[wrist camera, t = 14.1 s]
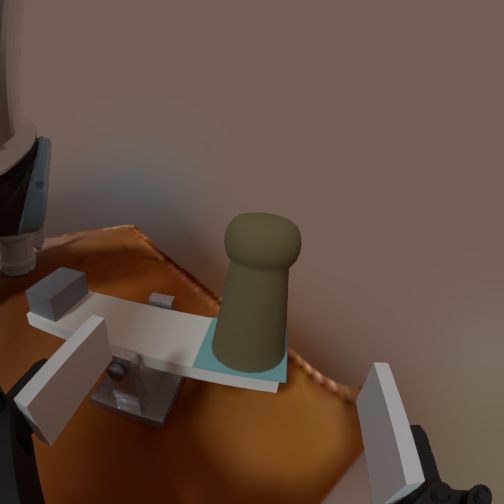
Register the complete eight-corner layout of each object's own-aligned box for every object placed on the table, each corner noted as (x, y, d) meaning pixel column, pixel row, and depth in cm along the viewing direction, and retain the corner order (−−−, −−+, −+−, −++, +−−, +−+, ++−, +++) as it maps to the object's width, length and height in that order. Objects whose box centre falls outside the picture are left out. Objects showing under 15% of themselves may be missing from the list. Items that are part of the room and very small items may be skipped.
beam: (29, 324, 22) (21, 292, 21) (67, 293, 29) (62, 264, 28) (282, 393, 21) (292, 359, 19) (285, 340, 27) (292, 308, 26)
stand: (92, 404, 21) (74, 350, 19) (141, 333, 32) (137, 284, 30) (163, 429, 21) (154, 377, 18) (198, 346, 32) (199, 296, 30)
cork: (197, 339, 24) (203, 207, 20) (253, 320, 28) (269, 203, 24) (241, 384, 20) (261, 234, 16) (299, 355, 23) (329, 225, 19)
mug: (-5, 272, 38) (-16, 207, 33) (34, 250, 49) (28, 192, 45) (17, 281, 37) (6, 209, 33) (58, 255, 48) (53, 194, 44)
